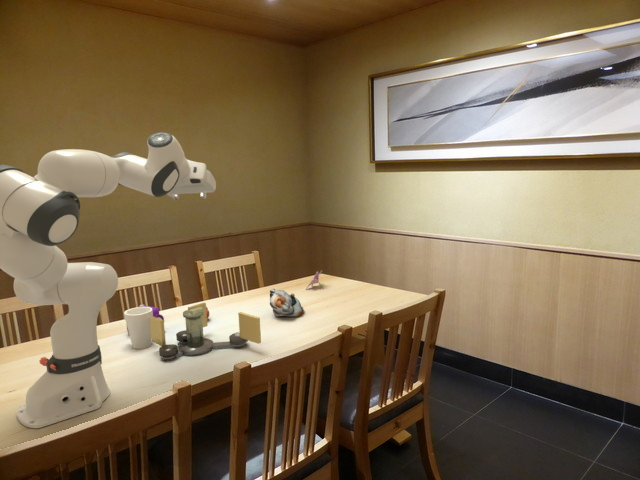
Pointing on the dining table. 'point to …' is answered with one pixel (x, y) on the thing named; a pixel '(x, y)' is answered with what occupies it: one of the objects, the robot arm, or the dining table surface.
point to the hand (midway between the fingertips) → (190, 197)
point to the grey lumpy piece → (285, 304)
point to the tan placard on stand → (247, 330)
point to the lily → (315, 279)
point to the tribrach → (187, 336)
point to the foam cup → (139, 326)
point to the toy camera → (155, 313)
